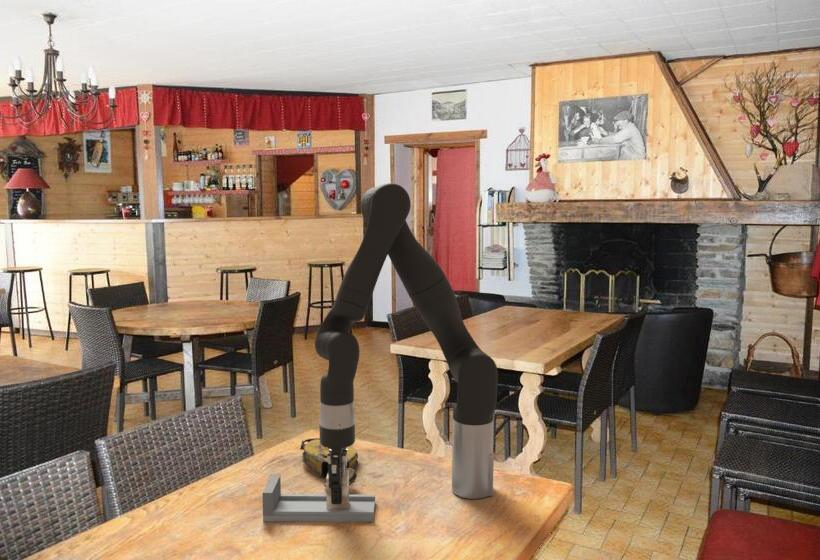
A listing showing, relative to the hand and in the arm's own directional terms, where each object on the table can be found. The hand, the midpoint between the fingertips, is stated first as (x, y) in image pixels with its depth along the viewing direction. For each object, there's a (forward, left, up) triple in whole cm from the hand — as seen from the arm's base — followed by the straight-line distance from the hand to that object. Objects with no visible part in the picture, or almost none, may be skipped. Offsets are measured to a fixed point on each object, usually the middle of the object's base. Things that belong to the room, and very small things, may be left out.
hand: (337, 498), depth 146 cm
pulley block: (+4, -21, -4) cm, 22 cm away
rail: (+4, 0, -3) cm, 5 cm away
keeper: (0, 0, -2) cm, 2 cm away
